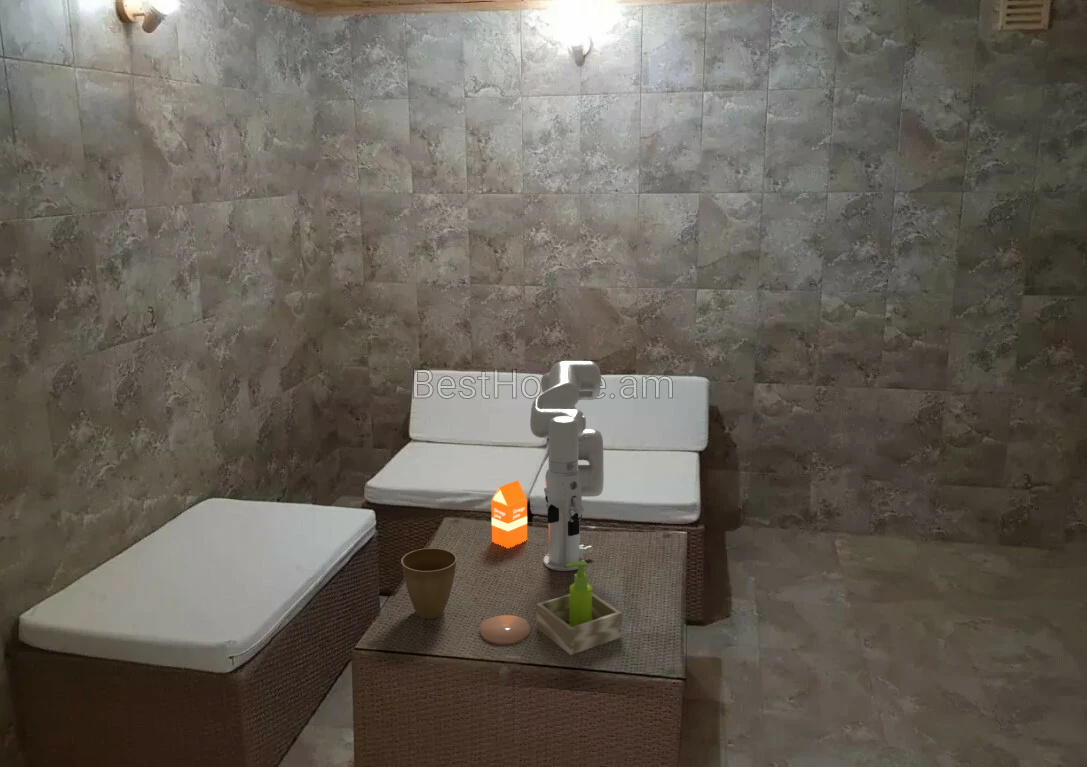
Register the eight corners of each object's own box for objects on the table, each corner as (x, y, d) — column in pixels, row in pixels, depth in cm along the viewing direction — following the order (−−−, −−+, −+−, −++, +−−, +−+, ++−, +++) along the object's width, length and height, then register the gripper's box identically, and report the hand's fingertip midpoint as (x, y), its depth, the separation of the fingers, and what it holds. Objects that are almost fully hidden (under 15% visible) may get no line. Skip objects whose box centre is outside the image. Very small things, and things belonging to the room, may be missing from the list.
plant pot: (435, 631, 239) (433, 575, 235) (392, 616, 247) (389, 562, 243) (469, 607, 251) (467, 554, 247) (427, 594, 259) (424, 543, 255)
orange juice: (527, 540, 295) (527, 482, 290) (508, 548, 289) (507, 490, 284) (510, 533, 300) (510, 477, 295) (491, 541, 294) (490, 484, 289)
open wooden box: (586, 611, 249) (586, 588, 247) (621, 637, 236) (621, 612, 234) (536, 627, 240) (536, 603, 239) (570, 655, 227) (570, 629, 226)
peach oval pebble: (513, 614, 247) (513, 610, 247) (539, 635, 237) (538, 631, 236) (471, 627, 241) (471, 623, 240) (495, 649, 230) (495, 645, 230)
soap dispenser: (564, 627, 241) (564, 558, 236) (590, 626, 241) (590, 557, 236) (566, 638, 235) (566, 568, 230) (593, 637, 235) (593, 567, 230)
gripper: (594, 472, 223) (594, 537, 227) (557, 453, 237) (558, 514, 241) (569, 477, 219) (568, 543, 223) (533, 458, 234) (533, 520, 238)
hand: (563, 528), depth 232 cm, fingers open, 9 cm apart
